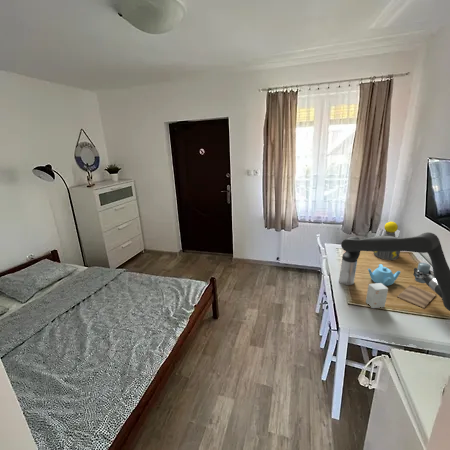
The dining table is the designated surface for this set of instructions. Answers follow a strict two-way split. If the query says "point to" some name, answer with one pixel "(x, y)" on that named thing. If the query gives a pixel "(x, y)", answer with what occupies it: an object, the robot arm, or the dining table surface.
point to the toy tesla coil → (390, 231)
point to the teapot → (383, 275)
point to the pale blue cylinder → (423, 268)
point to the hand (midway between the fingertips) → (420, 269)
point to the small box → (376, 295)
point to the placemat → (416, 296)
